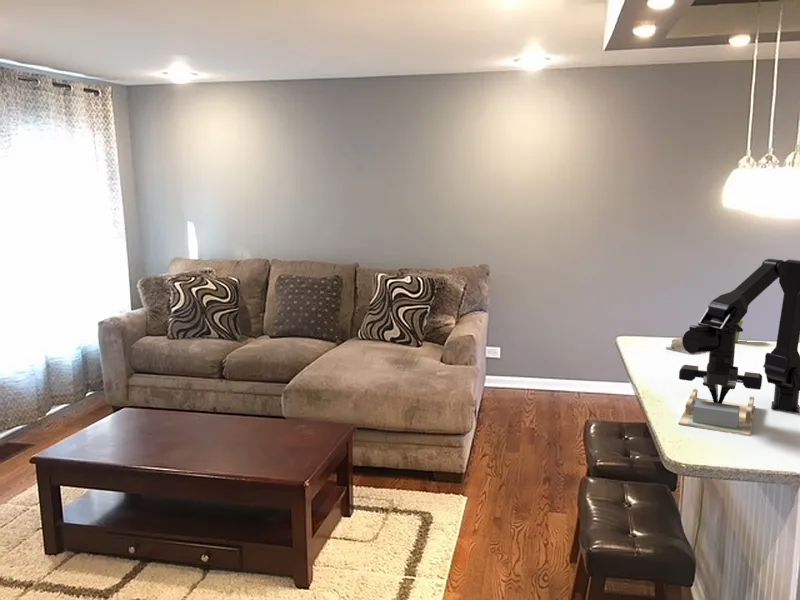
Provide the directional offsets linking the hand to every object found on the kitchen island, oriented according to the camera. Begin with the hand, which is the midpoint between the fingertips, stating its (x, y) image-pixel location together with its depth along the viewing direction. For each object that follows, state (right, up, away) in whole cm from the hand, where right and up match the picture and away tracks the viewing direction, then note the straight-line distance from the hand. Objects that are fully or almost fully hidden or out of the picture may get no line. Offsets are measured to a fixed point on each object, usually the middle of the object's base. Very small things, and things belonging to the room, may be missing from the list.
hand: (717, 409), depth 174 cm
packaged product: (+26, +9, +75) cm, 80 cm away
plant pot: (+44, +12, +87) cm, 98 cm away
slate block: (-2, -3, -3) cm, 5 cm away
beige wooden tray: (+1, -2, +3) cm, 4 cm away
